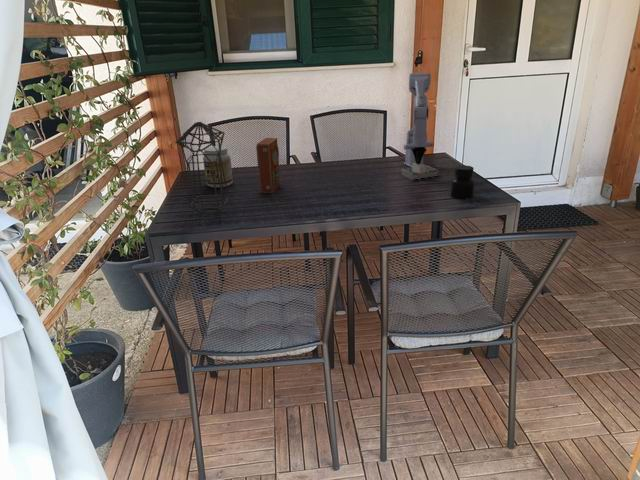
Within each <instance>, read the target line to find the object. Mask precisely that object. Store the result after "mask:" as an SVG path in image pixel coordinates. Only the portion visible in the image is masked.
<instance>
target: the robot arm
mask: <svg viewBox="0 0 640 480" xmlns="http://www.w3.org/2000/svg"><path fill="white" fill-rule="evenodd" d="M431 79H432V77H431V73H430V72H425V73H424V72H422V73H421V72H417V73H416V72H415V73H414V72H413V73H412V72H411V73H409V76H408V90H409V92H410V93H412V96H413V110H412V120H413V121H412V128H411V129H409V130H408V131H407V133H406V144H404V145H403V150H405V155H404V162H403V163H404V164H403V165H405V164H406V165H405V166H408V167H409V168H412V163H416V164H422V165H424V166H426V164H425V163H424V156H425V153H426V152H427V148H430V147H432V148H433V147H435V142H434V141H428V131H427V126H428V125H427V124H428V119H429V116H430V115H429V111H430V109H429V105H428V97H427V95H426V94H425V93H428V92H429V90H430V86H431Z"/></svg>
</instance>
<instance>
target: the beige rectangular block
mask: <svg viewBox="0 0 640 480" xmlns="http://www.w3.org/2000/svg"><path fill="white" fill-rule="evenodd" d="M411 169H412V170H414V171H416V172H418V173H425V170H426V166H424V165H422V164H416V163H412V167H411Z"/></svg>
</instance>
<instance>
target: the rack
mask: <svg viewBox="0 0 640 480" xmlns="http://www.w3.org/2000/svg"><path fill="white" fill-rule="evenodd" d="M425 165H426V164H425ZM402 175H403V176H402ZM400 176H402V177H404V176H405V177H404V178H406V177H407V178H406V179H408V178H409V179H408V180H410V179H411V180H410V181H415V180H414V179H418V180H422V179H421V178H425V179H428V178H427V177H432V178H434V177H433V176H438V177H439V169H437V168H434V167H432V166H429V165H428V164H427V165H426V170H425V173H418V172H416V171H414V170H412V168H411V167H406V168H401V169H400Z"/></svg>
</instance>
